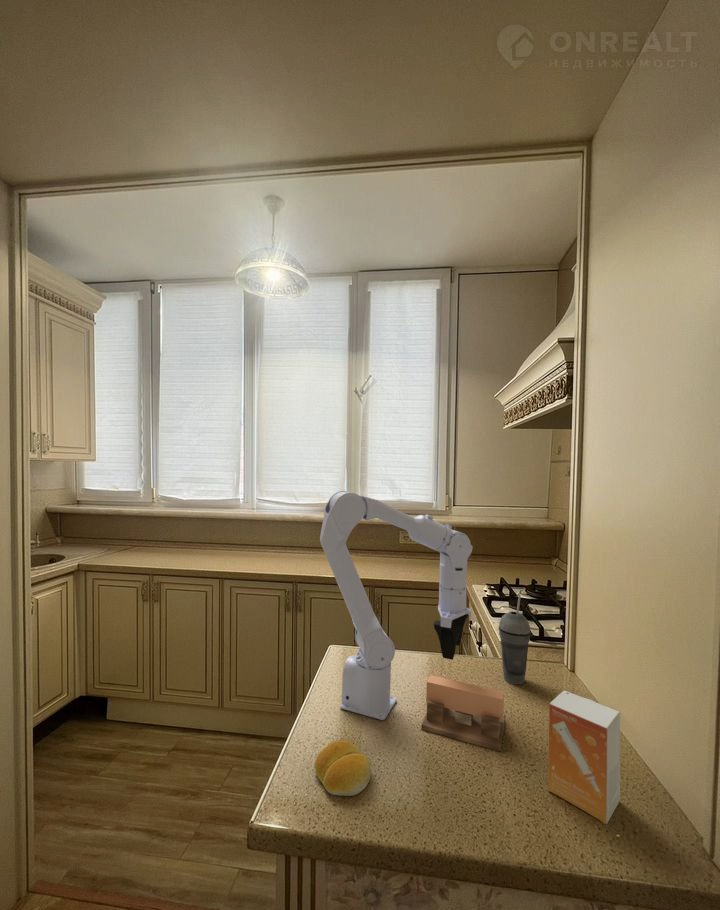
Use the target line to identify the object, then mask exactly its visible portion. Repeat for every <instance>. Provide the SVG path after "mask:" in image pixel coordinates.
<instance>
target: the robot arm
mask: <svg viewBox="0 0 720 910" xmlns="http://www.w3.org/2000/svg"><path fill="white" fill-rule="evenodd" d="M323 509H324V510H323V512H324V513H323V518H322V525H321V529H320V535H319V541H320V546H321V547H322V550H323V552H324V555H325V557H326V559H327V562H328V565H329V567H330V569H331V571H332V573H333V576H334V578H335V579H334V580H335V581H336V584H337V585H338V587H339V590H340V593H341V595H342V597H343V600H344V602H345V606H346V608H347V610H348V612H349V616H350V617H351V620H352V623H353V626H354V629H355V630H354V640H355V643H356V645H357V646H358V648H359V649H358V651H357V653H356V655H349V656H348V657H347V658H346V659H345V660H346V661H345V663H344V667H343V671H342V687H341V704H340V705H339V707H340V708H339V709H341V710H346V711H348V712H353V713H355V714H360V715H362V716H366V717H370V718H373V719H377V720H380V721H384V720H386V718H387V717H388V715H389V713H390V711H391V710H392V708H393V707H394V705H395V704H396V702H397V698H396V697H393V696H391V678H392V677H391V676H392V662H393V660H394V657H395V653H396V649H395V644H394V642H393V641H392V639H391V638H390V637H389V636H388V635H387V634H386V632H385V631H384V629H383V627H382V625H381V624H380V622H379V620H378V618H377V616H376V614H375V612H374V609H373V606H372V604H371V602H370V599H369V597H368V595H367V592H366V590H365V588H364V585H363V583H362V580H361V578H360V575H359V573H358V571H357V568H356V566H355V562H354V561H353V559H352V557H351V553H350V552H349V549H348V546H347V544H346V542H347V540H348V538H349V536H350V534H351V532H352V531H353V529H354V528H355V527H356V526H357V525H358V524H359V523H361V521H362V519H363V520H364V521H370V520H374V519H379V520H381V521H383V522H386V523H388V524H390V525H393V526H395V527H398V528H400V529H402V530H405V531H406V532H407V533H408V536H409V538H410V540H412V541H414V542H416V543H418V544H420V545H422V546H425V547H427V548H429V549H431V550H433V551H437V552H438V553H439V584H438V585H439V586H438V589H439V590H438V605H437V611H438V613H439V616H440V620H437V619H436V620H435V621H434V622H433V628H434V630H435V632H436V635H437V637H438V640H439V645H440V649H441V650H440V651H441V656H442V658H443V659H446V660H452V661H453V660H454V657H455V654H456V649H457V646H458V647H459V646H460V644H461V641H462V637H463V631H464V627H465V623H466V621H467V619H468V618H469V616H470V615H472V613H473V611H472V608H470V607H469V608H468V607H467V579H468V577H467V576H468V575H467V574H468V573H467V572H468V569H467V568H468V559H469V558H470V556H471V555H472V551H473V547H474V546H473V545H472V544H471V540H470V538H469V537H468V535H467V534H466V533H464V532H461V531H458V530H454V529H452V528H453V526H452V525H450V524H448V523H446V524H443V523H441V522H438V521H436V520H434V516H432V515H430V514H425V515H423V514H419V515H417V516H410V515H409V514H408V513H407V514H406V513H405V512H403V511H401V510H398V509H396V508H394V507H393V506H390V505H388V504H387V503H385V502H382V501H381V500H378V499H375V498H371V497H367V496H363V495H359V494H358V493H355V492H350V491H346V490H340V491H339V490H338V491H336V492H335V493H333V494H332V495H331V496H330V498H329V499H328V501H327V503H326V505H325V506H324V508H323Z"/></svg>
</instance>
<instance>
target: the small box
mask: <svg viewBox="0 0 720 910" xmlns="http://www.w3.org/2000/svg"><path fill="white" fill-rule="evenodd" d="M548 706H549V707H548V709H549V711H548V754H547V755H548V757H547V758H548V759H547V762H548V763H547V766H548V767H547V771H548V772H547V790H548V791H549V792H550V793H552V794H555V795H556V796H557V797H560V798H561V799H563V800H565V801H566V802H567V803H570V804H572V805H573V806H575V807H577V808H579V809H580V810H582V811H584V812H585V813H587V814H589V815H590V816H591V817H594V819H595V818H596V819H597V820H598V821H600V822H601V823H603V824H605V825H608V823H609V821H610V819H611V817H612V816H613V814H614V811H615V810H616V808H617V806H618V805H619V803H620V801H621V800H620V798H621V711H618V710H615V709H613V708H611V707H608V706H606V705H604V704H600V703H598V702H596V701H595V700H592V699H589V698H586V697H584V696H580V695H577V694H574V693H573V692H570V691H567V690H563V691H561V692H560V693H559V694H558V695H557V696H555V698H554V699H553V700H552V701H551V702H550V703H549V705H548Z"/></svg>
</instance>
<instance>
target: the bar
mask: <svg viewBox="0 0 720 910" xmlns="http://www.w3.org/2000/svg"><path fill="white" fill-rule="evenodd" d="M425 699H426V700H425V701H426V704H427V701H428V700H429V701H433V702H437V703H441V704H444V708H448V709H452V710H455V711H459V712H463V713H467V714H471V715H475V716H479V717H481V716H482V714H485V715H489V716H493V717H496V718H499V722H502V723H503V716H505V715H504V712H505V710H504V708H505V705H504V703H505V692H504V691H502V690H498V689H494V688H489V687H484V686H479V685H476V684H471V683H467V682H462V681H459V680H458V681H457V680H454V679H450V678H446V677H445V678H444V677H441V676H440V677H439V676H436V675H432V674H430V675H429V677H428V678H427V681H426V698H425Z"/></svg>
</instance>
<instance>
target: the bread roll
mask: <svg viewBox="0 0 720 910" xmlns="http://www.w3.org/2000/svg"><path fill="white" fill-rule="evenodd" d="M314 770H315V774H316V775H317V778H318V779H319V781H320V783H322V785H323V787H324V788H325V790H326V791H327V792H328V793H329V794H330V795H332V796H333V795H334V796H339V797H341V796H342V797H343V796H345V797H347V796H351V797H352V796H355V795H359V794H360V793H362V791H363V790H365V788H366V787H367V786H368V784H369V783H370V780H371V775H372V768H371V762H370V760H369V758H368V757H367V756H366V755H364V754H363V753H362V751H361V750H360V749H359V748H358V746H357V745H355V744H354V743H353V742H350V741H349V740H348V741H347V740H343V739H340V740H335V741H333V742H330V743H329V744H327V745H326V746H324V747H323V748H322V749H321V750H320V752H319V753H318V754H317V756H316V758H315V762H314Z"/></svg>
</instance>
